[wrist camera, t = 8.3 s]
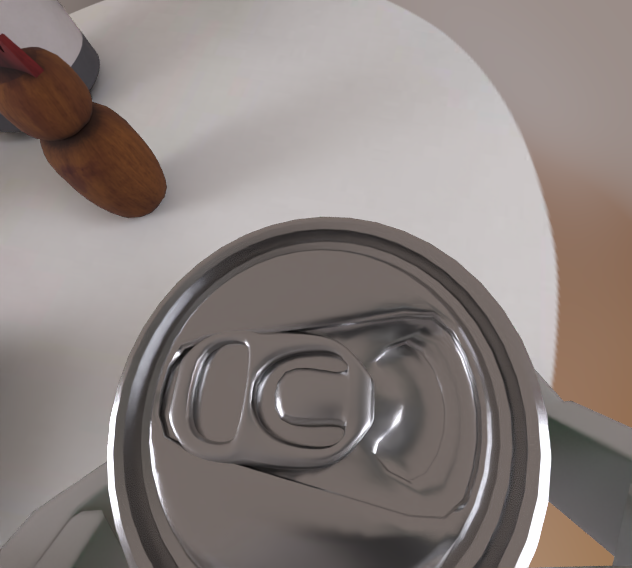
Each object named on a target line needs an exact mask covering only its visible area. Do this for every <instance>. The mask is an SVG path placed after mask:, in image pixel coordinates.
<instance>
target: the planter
mask: <svg viewBox="0 0 632 568" xmlns="http://www.w3.org/2000/svg"><path fill="white" fill-rule="evenodd" d="M2 33H3V34H5V35H6V36H7V37H8V38H9V39H10V40H12V41H13V42H14V43H15V44H16V45H17V46H18V47H20V48H27V47H40V48H43V49H45V50H47V51H50V52H52V53H54V54H56V55H58V56H59V57H60V58H61V59H63V60H64V61H65V62H66V63H67V64H69V65H70V67H71V68H72V69H73V70H74V71H75V72H76V73H77V74H78V76H79V77H80V78H81V79H82V81H83V82H84V83H85V84H86V86H87V88H88V90H89V91H90V89H91V88H92V86H93V84H94V82H95V80H96V78H97V76H98V72H99V67H100V62H99V57H98V54H97V53H96V51H95V50H94V48H93V47H92V46H91V44H90V43H89V42H88V40H87V39H86V38H85V36H84V35H83V33H82V32H81V31H80V29H79V28H78V27H77V25H76V24H75V23H74V21H73V20H72V18H71V17H70V16H69V14H68V13H67V12H66V10H65V9H64V8H63V6H62V5H61V4H60V2H59V1H58V0H0V35H1V34H2ZM0 131H1V132H21V130H19V129H18V128H17V127H16V126H15V125H13V124H12V123H11V122H10V121H9V120H7V119H6V118H5V117H4V116H3V115H2V114H1V113H0Z"/></svg>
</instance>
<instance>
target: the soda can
mask: <svg viewBox="0 0 632 568" xmlns="http://www.w3.org/2000/svg"><path fill="white" fill-rule="evenodd" d="M107 461H108V485H109V495H110V500H111V506H112V511H113V517H114V522H115V528H116V531H117V534H118V536H119V539H120V542H121V545H122V548H123V551H124V554H125V557H126V560H127V563H128V566H129V567H130V568H528V565H529V564H530V561H531V559H532V557H533V554H534V552H535V550H536V548H537V545H538V541H539V537H540V532H541V528H542V524H543V520H544V516H545V512H546V508H547V504H548V496H549V481H550V466H551V451H550V440H549V429H548V419H547V412H546V408H545V404H544V401H543V397H542V393H541V389H540V385H539V381H538V377H537V374H536V372H535V369H534V367H533V365H532V362H531V360H530V358H529V355H528V353H527V351H526V348H525V346H524V344H523V341H522V339H521V338H520V336H519V334H518V333H517V331H516V330H515V328H514V326H513V325H512V323H511V321H510V320H509V318H508V317H507V315H506V313H505V312H504V310H503V309H502V307H501V306H500V305H499V304H498V303H497V301H496V300H495V299H494V298H493V297H492V295H491V294H490V293H489V292H488V291H487V289H486V288H485V287H484V286H483V285H482V284H481V282H479V281H478V280H477V279H476V278H475V277H474V276H473V275H472V274H470V273H469V272H468V271H467V270H466V269H465V268H464V267H463V266H462V265H460V264H459V263H458V262H457V261H456V260H454V259H453V258H451V257H450V256H448V255H447V254H445V253H444V252H442V251H441V250H439V249H438V248H436V247H435V246H433V245H432V244H430V243H428V242H426V241H424V240H422V239H419V238H417V237H415V236H413V235H411V234H409V233H407V232H405V231H402V230H399V229H396V228H393V227H389V226H386V225H383V224H380V223H377V222H371V221H365V220H359V219H353V218H340V217H317V218H307V219H297V220H292V221H288V222H283V223H279V224H275V225H271V226H268V227H265V228H262V229H260V230H257V231H254V232H252V233H249V234H246V235H244V236H242V237H240V238H238V239H237V240H235V241H233V242H231V243H229V244H227V245H225V246H223V247H221V248H220V249H218V250H217V251H216V252H214V253H213V254H211V255H210V256H209V257H207V258H206V259H204V260H203V261H201V262H200V263H199V264H197V265H196V266H195V267H194V268H193V269H192V270H191V271H190V272H189V273H188V274H186V275H185V276H184V277H183V278H182V279H181V280H180V281H179V282H178V283H177V284H176V285H175V286H174V287H173V288H172V290H171V291H170V292H169V293H168V294H167V295H166V297H165V298H164V299H163V300H162V301H161V302H160V304H159V305H158V306H157V308H156V309H155V311H154V312H153V314H152V315H151V317H150V318H149V320H148V321H147V323H146V324H145V326H144V327H143V329H142V331H141V333H140V335H139V337H138V339H137V341H136V343H135V345H134V347H133V349H132V350H131V352H130V354H129V356H128V359H127V362H126V365H125V368H124V370H123V373H122V376H121V379H120V381H119V384H118V387H117V392H116V396H115V401H114V405H113V410H112V414H111V419H110V429H109V440H108V451H107Z"/></svg>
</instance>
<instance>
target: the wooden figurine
mask: <svg viewBox="0 0 632 568" xmlns="http://www.w3.org/2000/svg"><path fill="white" fill-rule="evenodd" d="M0 113H1V114H2V115H3V116H4V117H5V118H6V119H7V120H9V121H10V122H11V123H12V124H13V125H15V126H16V127H17V128H18V129H19V130H21V131H22V132H24V133H25V134H27V135H29V136H31V137H34V138H36V139H40V143H41V146H42V149H43V153H44V155H45V157H46V159H47V160H48V162H49V163H50V165H51V166H52V167H53V168H54V169H55V170H56V172H57V173H58V174H59V175H60V176H61V177H62V178H64V179H65V180H66V181H67V182H68V183H69V184H70V185H71V186H72V187H73V188H74V189H75V190H76V191H78V192H79V193H80V194H81V195H83V196H84V197H85V198H86V199H88V200H89V201H91V202H92V203H94V204H95V205H97V206H99V207H100V208H103V209H105V210H107V211H109V212H111V213H114V214H117V215H119V216H123V217H127V218H132V217H141V216H144V215H146V214H149V213H151V212H152V211H153V210H154V209H155V208H157V207H158V205H159V204H160V202H161V201H162V199H163V198H164V197H165V193H166V188H167V186H166V180H165V177H164V174H163V171H162V169H161V167H160V165H159V162H158V160H157V159H156V157H155V155H154V154H153V152H152V150H151V149H150V148H149V147H148V145H147V144H146V143H145V141H144V140H143V139H142V138H141V137H140V136H139V135H138V133H137V132H136V131H135V130H134V129H133V128H132V127H131V126H130V125H129V124H128V122H127V121H126V120H124V119H123V118H122V117H121V116H119V115H118V114H117V113H116V112H114V111H113V110H111V109H110V108H108V107H107V106H104V105H101V104H98V103H94V102H92V98H91V95H90V92H89V90H88V88H87V86H86V84H85V83H84V82H83V81H82V79H81V78H80V77H79V76H78V74H77V73H76V72H75V71H74V70H73V69H72V68H71V67H70V65H69V64H67V63H66V62H65V61H64V60H63V59H61V58H60V57H59V56H58V55H56V54H54V53H52V52H50V51H47V50H45V49H43V48H40V47H27V48H20V47H18V46H17V45H16V44H15V43H14V42H13V41H12V40H10V39H9V38H8V37H7V36H6V35H5V34H3V33H2V34H1V35H0Z"/></svg>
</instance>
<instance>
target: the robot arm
mask: <svg viewBox="0 0 632 568" xmlns="http://www.w3.org/2000/svg"><path fill="white" fill-rule="evenodd" d="M535 372H536V374H537V377H538V381H539V385H540V389H541V393H542V397H543V401H544V404H545V408H546V412H547V419H548V429H549V440H550V451H551V466H550V481H549V496H548V501H549V502H550V503H552V504H553V505H554V506H555V507H556V508H557V509H559V510H560V511H561V512H562V513H563V514H565V515H566V516H567V517H568V518H569V519H571V520H572V521H573V522H574V523H575V524H576V525H578V526H579V527H580V528H581V529H583V530H584V531H585V532H586V533H587V534H589V535H590V536H591V537H592V538H593V539H595V540H596V541H597V542H598V543H599V544H600V545H602V546H603V547H604V548H605V549H606V550H607V551H609V552H610V553H611V554H612V555H613V556H615V557H614V561H613V566H586V567H585V566H584V567H545V568H632V428H631V427H629V426H626V425H624V424H622V423H620V422H617V421H615V420H613V419H611V418H609V417H606V416H604V415H602V414H600V413H597V412H595V411H593V410H591V409H588V408H586V407H584V406H582V405H579V404H577V403H575V402H573V401H565V402H564V401H563V400H562V399H561V398H560V397H559V396H558V395H557V393H556V392H555V391H554V390H553V389H552V388H551V387H550V386H549V385H548V383H547V382H546V381H545V380H544V379H543V378H542V377H541V376H540V375H539V373H538V372H537V371H536V370H535ZM0 568H130V567H129V566H128V563H127V560H126V557H125V554H124V551H123V548H122V545H121V542H120V539H119V536H118V534H117V531H116V528H115V522H114V517H113V511H112V506H111V500H110V495H109V485H108V461H107V462H105V463H104V464H102V465H101V466H99V467H98V468H96V469H95V470H93V471H92V472H91V473H89V474H88V475H86V476H85V477H83V478H82V479H80V480H79V481H77V482H76V483H74V484H73V485H71V486H70V487H68V488H67V489H66V490H64V491H63V492H61V493H60V494H58V495H57V496H55V497H54V498H52V499H51V500H49V501H48V502H46V503H45V504H43V505H42V506H41V507H39V508H38V509H36V510H35V511H33V512H32V514H31V515H30V516H29V517H28V518H27V519H26V521H25V522H24V523H23V524H22V525H21V526H20V528H19V529H18V530H17V531H16V532H15V533H14V534H13V536H12V537H11V538H10V539H9V540H8V541H7V543H6V544H5V545H4V546H3V547H2V548H1V550H0ZM541 568H542V567H541Z"/></svg>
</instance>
